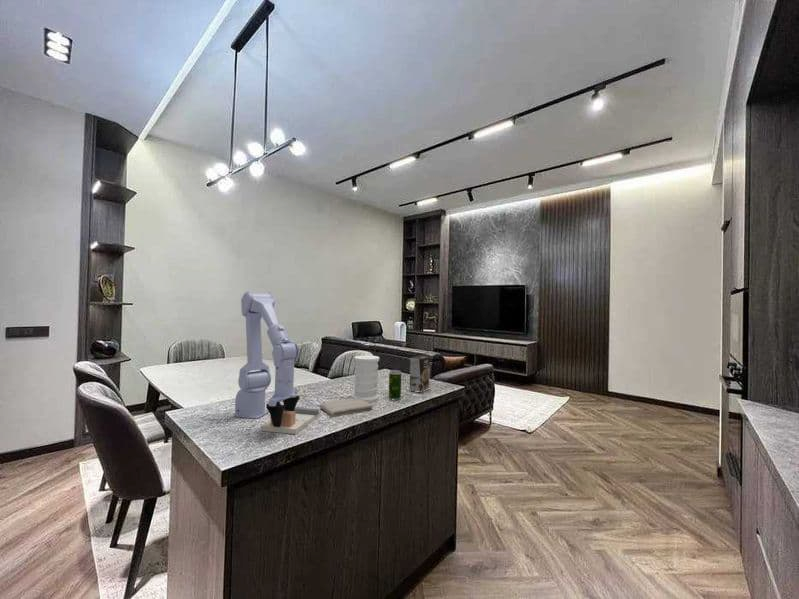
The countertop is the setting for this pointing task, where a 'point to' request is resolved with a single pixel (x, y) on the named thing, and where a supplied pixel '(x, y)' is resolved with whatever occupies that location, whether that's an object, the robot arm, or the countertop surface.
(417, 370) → the coffee box
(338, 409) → the washcloth
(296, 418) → the ticket board
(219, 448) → the countertop surface
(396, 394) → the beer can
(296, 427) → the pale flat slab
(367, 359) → the decorative container
